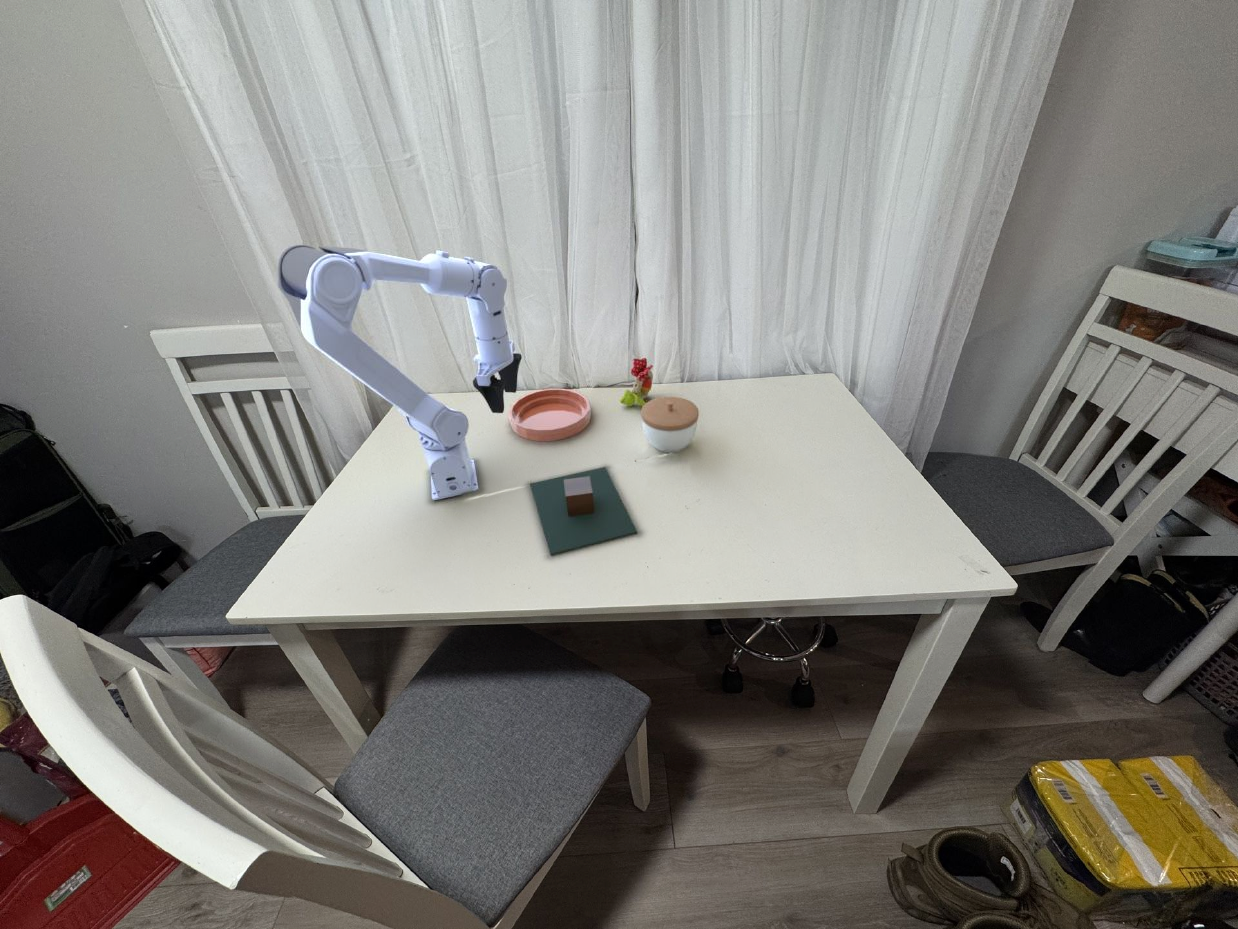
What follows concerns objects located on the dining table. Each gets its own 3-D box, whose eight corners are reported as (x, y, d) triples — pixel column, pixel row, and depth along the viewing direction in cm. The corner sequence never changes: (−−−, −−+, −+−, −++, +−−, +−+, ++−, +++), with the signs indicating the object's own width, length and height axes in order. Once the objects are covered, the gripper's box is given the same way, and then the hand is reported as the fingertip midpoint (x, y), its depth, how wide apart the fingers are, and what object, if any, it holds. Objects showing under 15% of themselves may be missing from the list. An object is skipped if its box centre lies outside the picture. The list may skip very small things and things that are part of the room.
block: (594, 513, 86) (592, 492, 83) (568, 516, 85) (565, 496, 82) (591, 496, 89) (589, 476, 86) (566, 499, 89) (563, 479, 86)
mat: (637, 533, 82) (637, 531, 82) (550, 555, 79) (550, 553, 79) (605, 468, 96) (604, 466, 96) (530, 485, 93) (530, 483, 92)
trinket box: (689, 464, 96) (692, 422, 90) (634, 455, 99) (633, 413, 93) (701, 433, 104) (704, 392, 98) (650, 426, 107) (650, 385, 101)
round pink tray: (600, 433, 105) (599, 420, 103) (518, 450, 101) (515, 437, 100) (579, 395, 118) (578, 383, 116) (506, 409, 114) (504, 396, 112)
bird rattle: (630, 403, 118) (615, 407, 110) (638, 355, 115) (622, 355, 107) (656, 409, 116) (642, 413, 108) (664, 359, 113) (650, 360, 105)
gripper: (484, 317, 96) (497, 382, 105) (452, 350, 85) (470, 420, 93) (520, 318, 95) (530, 383, 104) (493, 352, 84) (507, 422, 92)
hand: (504, 401), depth 98 cm, fingers open, 7 cm apart
